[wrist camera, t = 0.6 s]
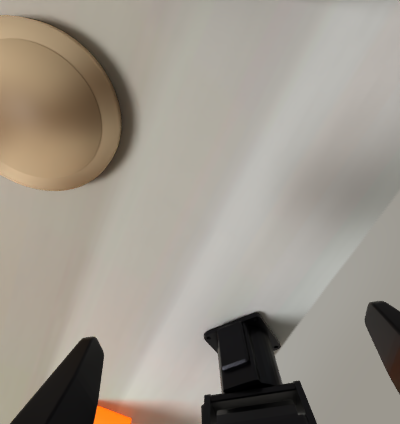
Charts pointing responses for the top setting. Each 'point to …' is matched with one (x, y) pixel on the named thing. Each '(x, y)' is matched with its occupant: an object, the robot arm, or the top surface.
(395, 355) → the robot arm
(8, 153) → the plate
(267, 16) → the top surface
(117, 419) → the orange juice
